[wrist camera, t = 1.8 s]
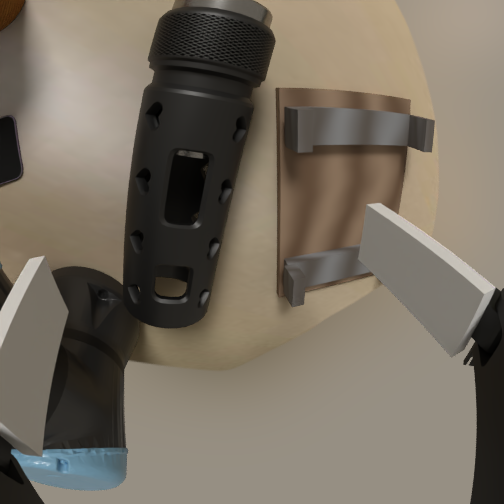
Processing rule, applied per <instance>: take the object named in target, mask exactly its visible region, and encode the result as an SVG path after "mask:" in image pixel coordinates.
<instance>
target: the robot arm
mask: <svg viewBox="0 0 504 504" xmlns="http://www.w3.org/2000/svg"><path fill="white" fill-rule="evenodd" d="M358 260H359V261H361V262H362V263H363V264H364V265H365V266H366V267H367V268H368V269H369V270H370V271H371V272H372V273H373V274H374V275H375V276H376V277H377V278H378V279H379V280H380V281H381V282H382V283H383V284H384V285H385V286H386V287H387V288H388V289H389V290H390V291H391V292H392V293H393V294H394V296H395V297H397V299H398V300H399V301H400V302H401V303H402V304H403V305H404V306H405V307H406V308H407V309H408V310H409V311H410V312H411V313H412V314H413V315H414V317H416V319H417V320H418V321H419V322H420V323H421V324H422V325H423V326H424V327H425V328H426V329H427V331H428V332H429V333H430V334H431V335H432V336H433V337H434V338H435V339H436V341H437V342H438V343H439V344H440V345H441V346H442V347H443V348H444V350H446V352H447V353H448V354H449V355H450V356H451V357H453V356H455V355H456V354H458V353H459V352H461V351H463V350H464V349H465V347H466V345H467V344H468V342H469V340H470V338H471V337H472V338H473V339H474V340H475V343H474V345H473V346H472V348H471V350H470V351H469V353H468V355H467V356H466V358H465V359H464V365H466V364H467V362H468V361H469V359H470V358H471V357H473V359H472V360H471V362H470V364H469V365H470V366H474V372H475V385H476V406H477V438H476V440H477V441H476V458H475V471H474V480H473V488H472V496H471V502H470V504H504V288H503V289H502V291H500V290H498V289H497V288H496V287H495V286H494V285H492V284H491V283H490V282H489V281H488V280H486V279H485V278H484V277H483V276H481V275H480V274H479V273H478V272H477V271H475V270H474V269H473V268H471V267H470V266H469V265H468V264H466V263H465V262H464V261H463V260H461V259H460V258H459V257H458V256H456V255H454V254H453V253H452V252H451V251H449V250H448V249H447V248H445V247H444V246H443V245H441V244H440V243H439V242H437V241H436V240H434V239H433V238H432V237H430V236H429V235H427V234H426V233H425V232H423V231H422V230H420V229H419V228H417V227H416V226H414V225H413V224H411V223H410V222H408V221H407V220H406V219H404V218H403V217H401V216H399V215H398V214H396V213H395V212H393V211H392V210H390V209H389V208H387V207H386V206H384V205H382V204H381V203H374V204H366V211H365V219H364V226H363V233H362V239H361V245H360V251H359V257H358ZM139 328H140V320H138V319H136V318H135V317H134V316H133V315H131V314H130V313H129V312H128V310H127V308H126V307H125V304H124V301H123V286H122V285H121V284H120V283H119V282H118V281H116V280H115V279H113V278H112V277H110V276H108V275H107V274H104V273H102V272H100V271H97V270H94V269H91V268H86V267H77V266H73V267H64V268H60V269H57V270H55V271H53V272H51V270H50V268H49V265H48V263H47V260H46V257H45V256H41V257H36V258H31V259H29V261H28V262H27V264H26V266H25V267H24V269H23V271H22V272H21V274H20V276H19V277H18V279H17V281H16V283H15V284H14V286H13V284H12V283H11V282H10V280H9V279H8V277H7V276H6V274H5V273H4V271H3V270H2V264H1V263H0V504H44V502H43V501H42V499H41V498H40V497H39V495H38V494H37V492H36V490H35V489H34V487H33V486H32V484H31V483H30V481H29V480H32V481H35V482H38V483H41V484H45V485H49V486H54V487H59V488H66V489H74V490H107V489H111V488H114V487H117V486H119V485H120V484H121V483H122V482H123V481H124V480H125V478H126V466H127V453H128V449H127V448H126V440H125V421H124V369H125V366H126V364H127V362H128V360H129V358H130V356H131V354H132V352H133V349H134V347H135V345H136V343H137V341H138V337H139Z"/></svg>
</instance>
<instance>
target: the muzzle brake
mask: <svg viewBox="0 0 504 504" xmlns="http://www.w3.org/2000/svg"><path fill="white" fill-rule="evenodd" d="M271 22H272V14H271V12H270V11H269V10H268V9H267V8H266V7H264V6H263V5H261V4H260V3H258V2H256V1H254V0H175V2H174V5H173V8H172V10H170V11H168V12H167V13H165V14H164V15H163V16H162V17H161V18H160V19H159V21H158V25H157V28H156V31H155V35H154V38H153V42H152V45H151V49H150V53H149V56H148V61H149V62H150V65H149V68H151V69H152V70H154V76H153V80H152V83H151V84H149V85H148V86H147V87H146V88H145V89H144V93H143V98H142V103H141V108H140V113H139V119H138V124H137V130H136V136H135V142H134V148H133V155H132V164H131V171H130V180H129V188H128V198H127V209H126V224H125V238H124V263H123V301H124V304H125V307H126V308H127V310H128V312H129V313H130V314H131V315H133V316H134V317H135V318H136V319H138V320H140V321H141V322H144V323H146V324H148V325H151V326H155V327H160V328H181V327H186V326H189V325H192V324H194V323H196V322H198V321H199V320H201V319H202V318H203V317H204V316H205V314H206V312H207V309H208V305H209V300H210V295H211V290H212V285H213V280H214V276H215V271H216V266H217V261H218V257H219V252H220V248H221V243H222V238H223V234H224V229H225V225H226V221H227V216H228V212H229V207H230V203H231V199H232V194H233V190H234V186H235V182H236V178H237V173H238V169H239V165H240V161H241V157H242V153H243V149H244V145H245V141H246V137H247V133H248V129H249V125H250V121H251V117H252V113H253V109H254V107H253V104H252V102H251V101H250V96H251V93H252V89H253V88H256V87H260V84H261V82H263V81H265V78H266V74H267V71H268V67H269V63H270V60H271V56H272V53H273V49H274V45H275V42H276V41H275V37H274V34H273V32H272V30H271V29H270V25H271ZM207 165H208V170H207V175H206V173H205V171H204V170H203V168H205V167H206V166H207ZM197 213H199V215H198V219H196V218H195V215H196V214H197ZM155 277H166V278H175V279H179V280H181V281H184V282H186V283H187V288H186V292H185V293H184V294H183V295H182V296H180V297H166V296H160V295H158V294H157V293H156V292H155ZM138 287H139V288H140V292H139V289H138Z"/></svg>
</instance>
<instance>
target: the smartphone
mask: <svg viewBox="0 0 504 504" xmlns="http://www.w3.org/2000/svg"><path fill="white" fill-rule="evenodd" d="M22 173H23V164H22V159H21V153H20V147H19V141H18V134H17V126H16V120H15V118H14V117H13V116H11V115H8V116H4V117H2V118H0V184H3V183H6V182H9V181H12V180H15V179H18V178H19V177H20V176H21V175H22Z"/></svg>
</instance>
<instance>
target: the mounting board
mask: <svg viewBox="0 0 504 504" xmlns="http://www.w3.org/2000/svg"><path fill="white" fill-rule="evenodd" d="M410 102H411V100H409V99H403V98H397V97H391V96H384V95H377V94H370V93H361V92H352V91H340V90H327V89H308V88H276V117H277V294H278V296H279V297H283V296H286V297H287V299H288V301H289V303H290V304H291V306H292V307H295V306H299V305H304V297H305V291H309V290H314V289H318V288H322V287H327V286H331V285H335V284H339V283H343V282H347V281H351V280H355V279H359V278H363V277H367V276H371V275H374V274H373V273H372V272H371V271H370V270H369V269H368V268H367V267H366V266H365V265H364V264H363V263H362V262H361V261H359V260H358V257H359V251H360V245H361V239H362V233H363V226H364V219H365V211H366V204H374V203H381V204H382V205H384V206H386V207H387V208H389V209H390V210H392V211H393V212H395V213H396V214H398V213H399V207H400V201H401V194H402V188H403V180H404V173H405V165H406V156H407V146H409V147H412V148H415V149H417V150H420V151H423V152H432V145H433V135H434V123H435V121H434V120H431V119H427V118H423V117H419V116H413V115H410Z"/></svg>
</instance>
